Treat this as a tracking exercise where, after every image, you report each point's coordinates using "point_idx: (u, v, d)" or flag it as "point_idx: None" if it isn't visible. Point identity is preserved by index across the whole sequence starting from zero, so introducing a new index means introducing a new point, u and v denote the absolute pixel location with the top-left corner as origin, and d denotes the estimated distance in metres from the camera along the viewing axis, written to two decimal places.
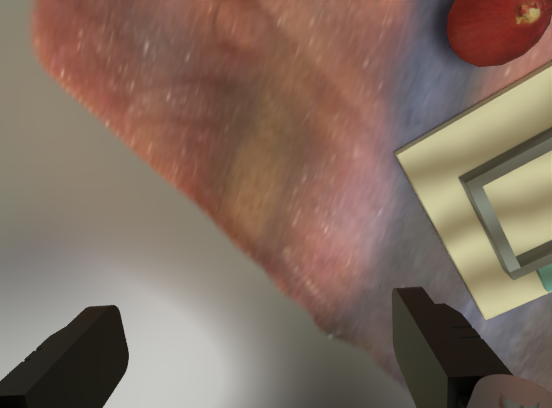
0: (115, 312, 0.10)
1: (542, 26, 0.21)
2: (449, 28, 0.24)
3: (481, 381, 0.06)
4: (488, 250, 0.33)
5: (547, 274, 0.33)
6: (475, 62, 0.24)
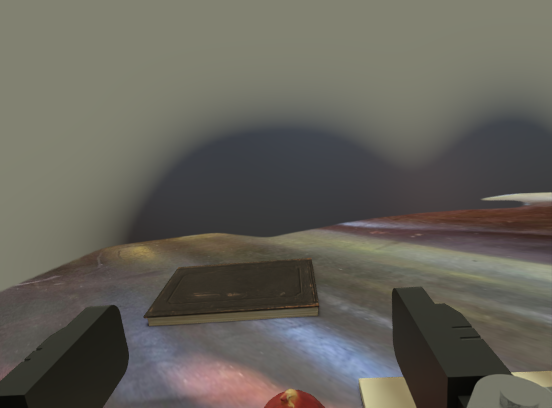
0: (115, 312, 0.10)
1: (309, 396, 0.25)
2: None
3: (481, 381, 0.06)
4: None
5: None
6: None
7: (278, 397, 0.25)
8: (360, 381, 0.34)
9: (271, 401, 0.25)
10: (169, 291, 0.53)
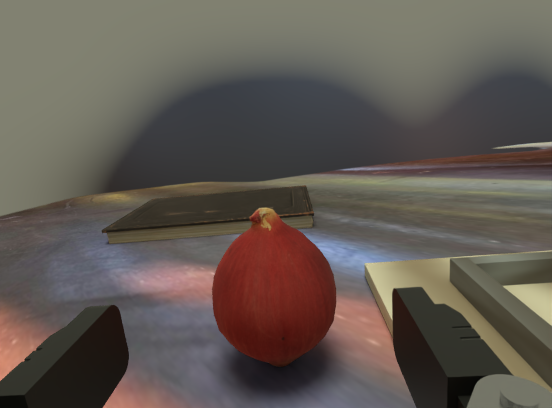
0: (115, 312, 0.10)
1: (295, 229, 0.17)
2: (243, 331, 0.15)
3: (481, 381, 0.06)
4: None
5: None
6: (310, 307, 0.15)
7: (249, 229, 0.17)
8: (366, 265, 0.25)
9: None
10: (137, 213, 0.45)
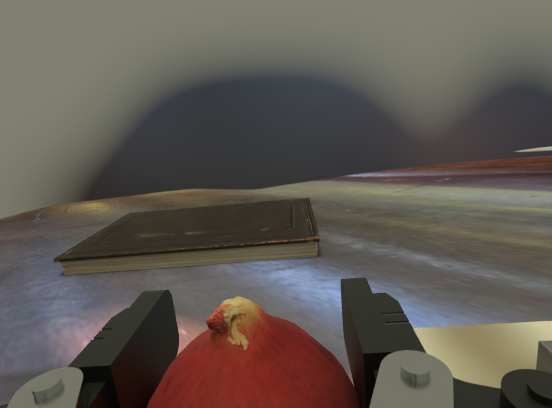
0: (169, 297, 0.11)
1: (297, 328, 0.09)
2: None
3: (389, 356, 0.07)
4: None
5: None
6: None
7: (210, 329, 0.09)
8: None
9: (192, 341, 0.09)
10: (105, 233, 0.37)
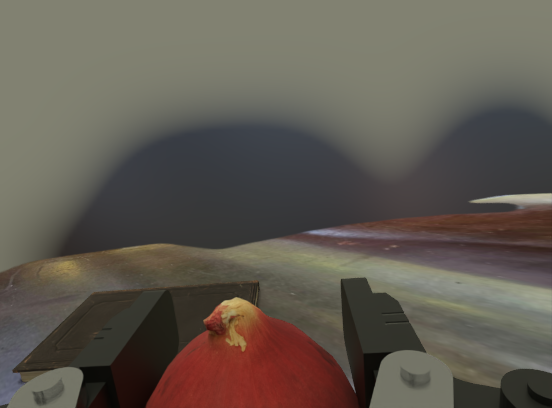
0: (169, 297, 0.11)
1: (296, 329, 0.09)
2: None
3: (389, 356, 0.07)
4: None
5: None
6: None
7: (208, 330, 0.09)
8: None
9: (190, 342, 0.09)
10: (64, 329, 0.41)
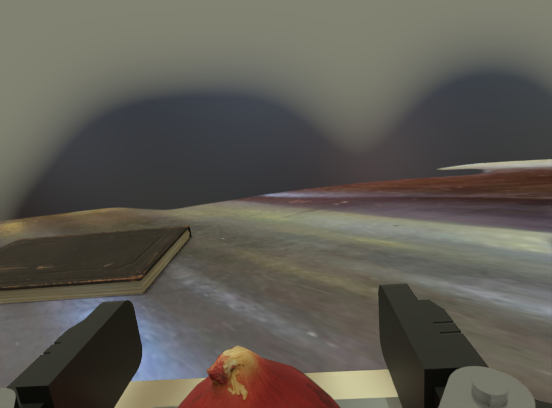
0: (129, 307, 0.11)
1: (295, 372, 0.10)
2: None
3: (455, 372, 0.06)
4: None
5: None
6: None
7: None
8: None
9: (195, 388, 0.10)
10: None
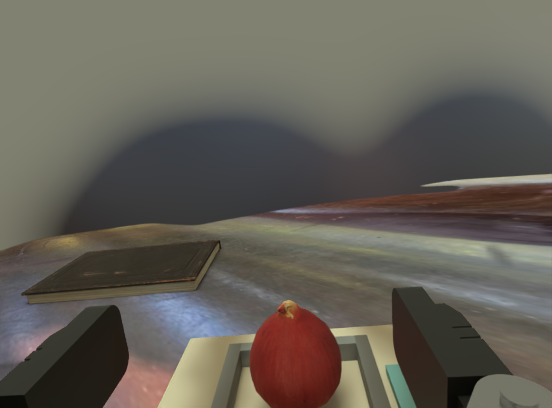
0: (115, 312, 0.10)
1: (310, 312, 0.23)
2: (275, 395, 0.20)
3: (481, 381, 0.06)
4: None
5: None
6: (323, 377, 0.20)
7: (276, 313, 0.23)
8: (190, 341, 0.33)
9: (268, 318, 0.23)
10: (62, 272, 0.53)
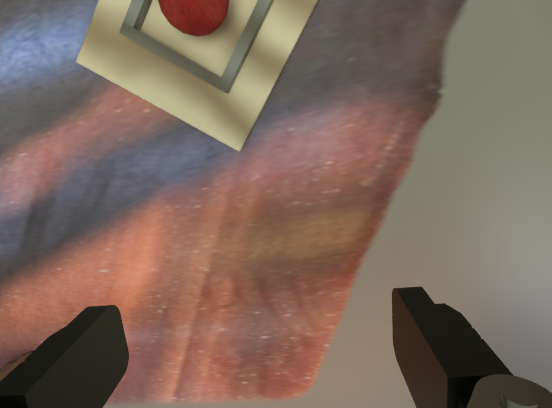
0: (115, 312, 0.10)
1: None
2: (216, 27, 0.30)
3: (481, 381, 0.06)
4: (271, 15, 0.33)
5: None
6: None
7: None
8: (80, 62, 0.35)
9: (169, 0, 0.27)
10: None
